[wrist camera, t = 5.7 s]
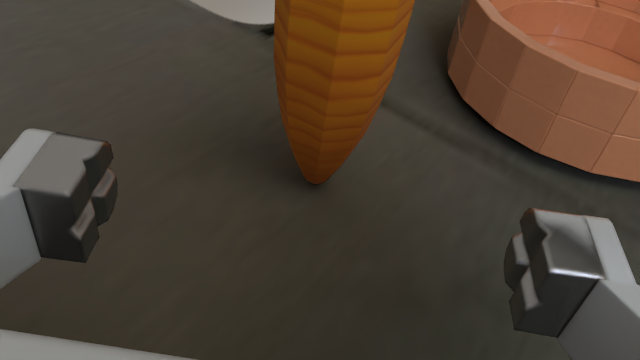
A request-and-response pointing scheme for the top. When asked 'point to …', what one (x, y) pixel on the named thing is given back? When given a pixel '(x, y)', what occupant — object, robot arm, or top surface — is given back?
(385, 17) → the carrot
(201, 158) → the top surface
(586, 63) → the pot
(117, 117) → the top surface
